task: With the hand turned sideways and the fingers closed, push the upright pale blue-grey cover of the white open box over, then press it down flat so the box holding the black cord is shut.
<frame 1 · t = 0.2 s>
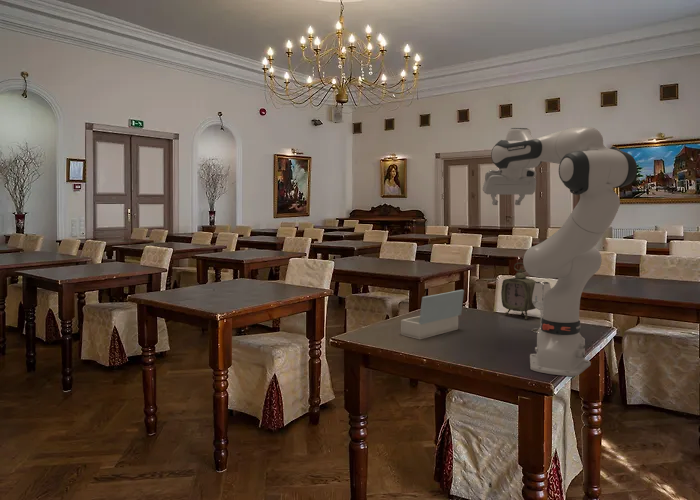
hand: (506, 204, 208), 51 cm above the table, tool tilted 20°, fingers open, 8 cm apart
white open box: (430, 331, 217), on the table
wineglass: (541, 331, 216), on the table
tabletop clock: (520, 317, 244), on the table
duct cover: (442, 306, 211), point 11 cm above the table, hinge at 98.0°
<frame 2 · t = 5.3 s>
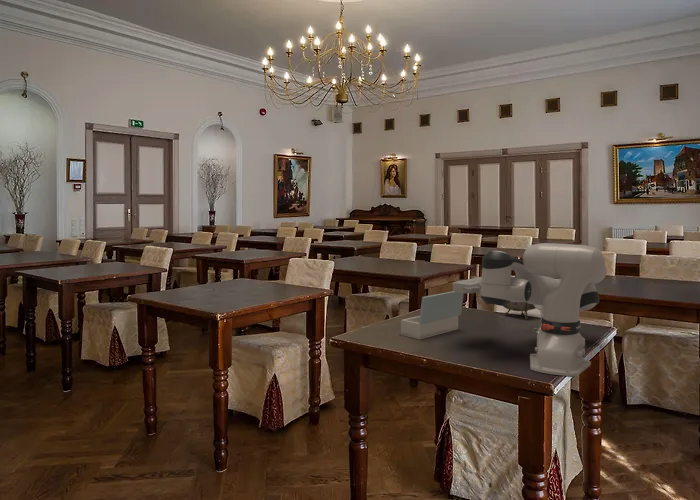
hand: (458, 282, 205), 22 cm above the table, tool horizontal, fingers closed
nothing on the table moved.
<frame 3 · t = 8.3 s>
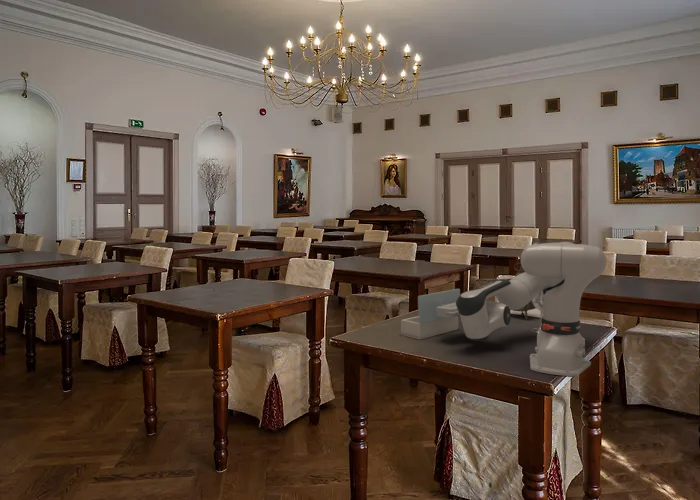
hand: (442, 306, 212), 11 cm above the table, tool horizontal, fingers closed, pressing on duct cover
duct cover: (440, 305, 212), point 12 cm above the table, hinge at 85.9°, touching gripper
everything else where it was.
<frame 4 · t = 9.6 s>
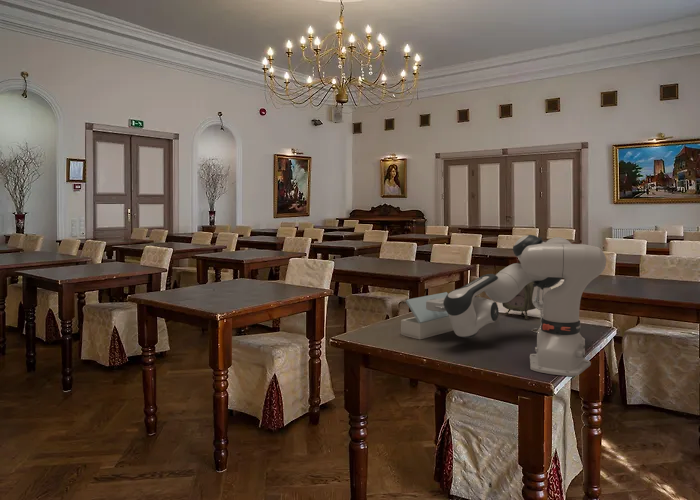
hand: (432, 300, 215), 13 cm above the table, tool horizontal, fingers closed, pressing on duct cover
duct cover: (433, 307, 215), point 11 cm above the table, hinge at 47.5°, touching gripper
everything else where it was.
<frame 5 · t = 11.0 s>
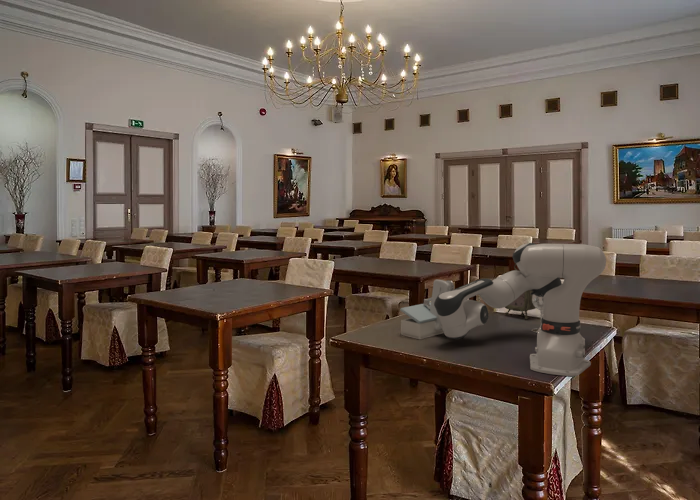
hand: (424, 302, 219), 12 cm above the table, tool horizontal, fingers closed
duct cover: (430, 311, 216), point 9 cm above the table, hinge at 20.2°, touching gripper
everything else where it was.
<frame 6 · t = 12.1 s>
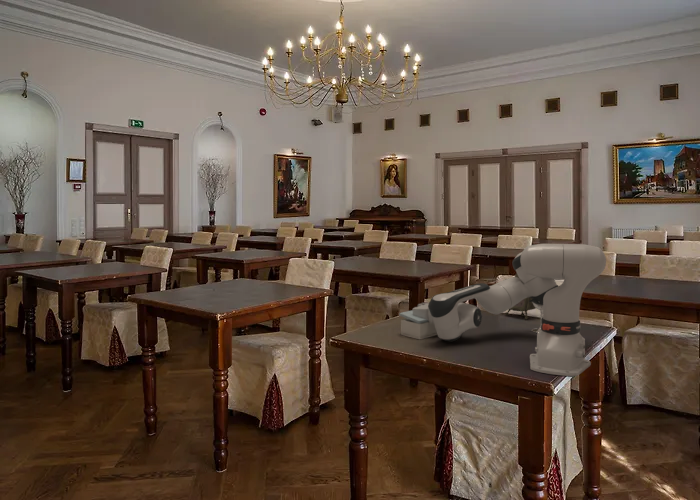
hand: (420, 305, 222), 10 cm above the table, tool horizontal, fingers closed
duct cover: (429, 313, 217), point 8 cm above the table, hinge at 8.4°, touching arm
everything else where it was.
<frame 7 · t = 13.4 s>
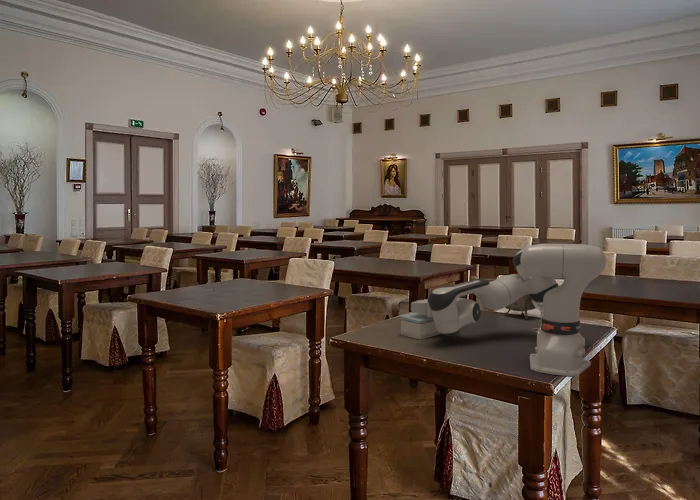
hand: (417, 302, 221), 11 cm above the table, tool horizontal, fingers closed
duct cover: (429, 314, 217), point 7 cm above the table, hinge at 2.5°
everything else where it was.
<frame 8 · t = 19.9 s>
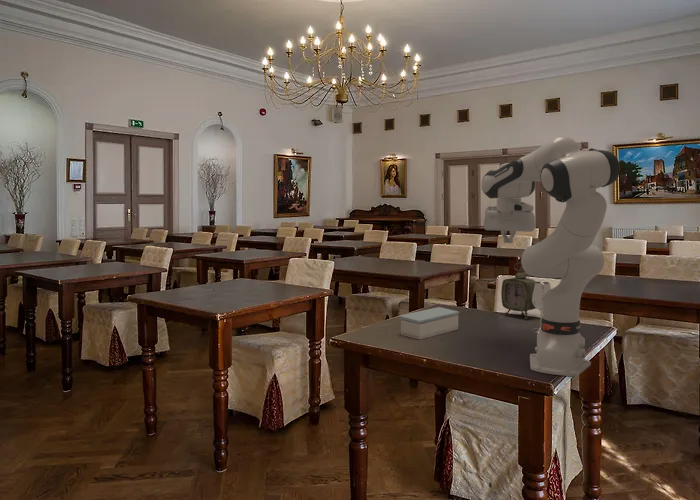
hand: (508, 242, 202), 37 cm above the table, tool pointing down, fingers closed
nothing on the table moved.
at the end: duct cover at +2° (first picture: +98°) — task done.
